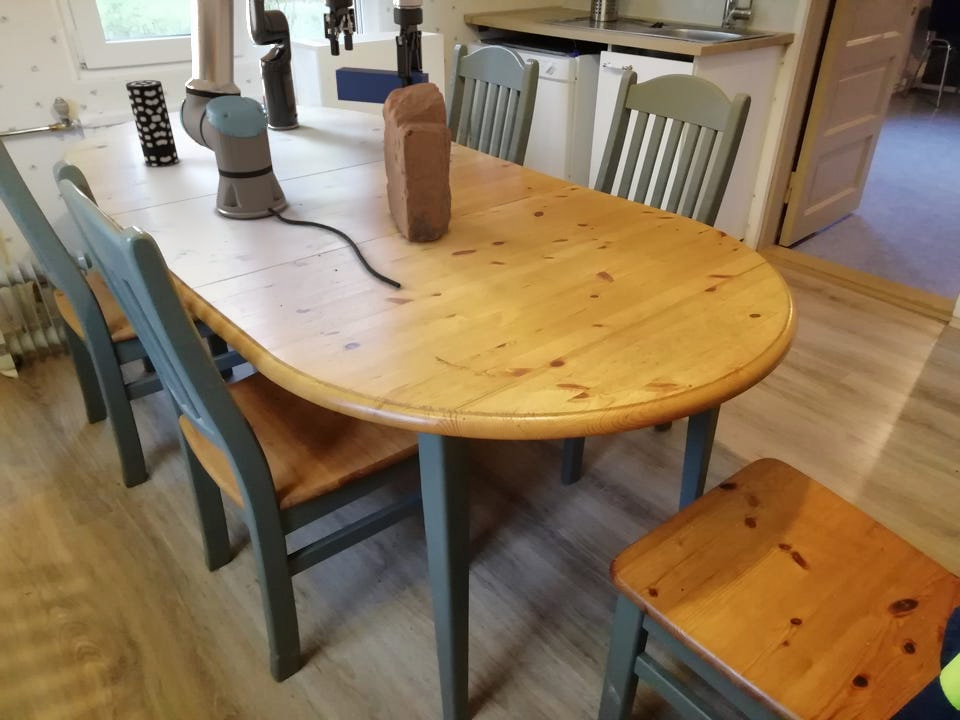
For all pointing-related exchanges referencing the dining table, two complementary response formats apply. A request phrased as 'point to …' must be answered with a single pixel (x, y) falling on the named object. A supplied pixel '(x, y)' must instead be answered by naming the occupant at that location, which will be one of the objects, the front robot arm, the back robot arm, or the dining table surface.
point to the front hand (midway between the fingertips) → (411, 100)
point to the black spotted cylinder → (152, 122)
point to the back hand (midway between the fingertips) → (342, 52)
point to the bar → (371, 83)
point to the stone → (418, 161)
